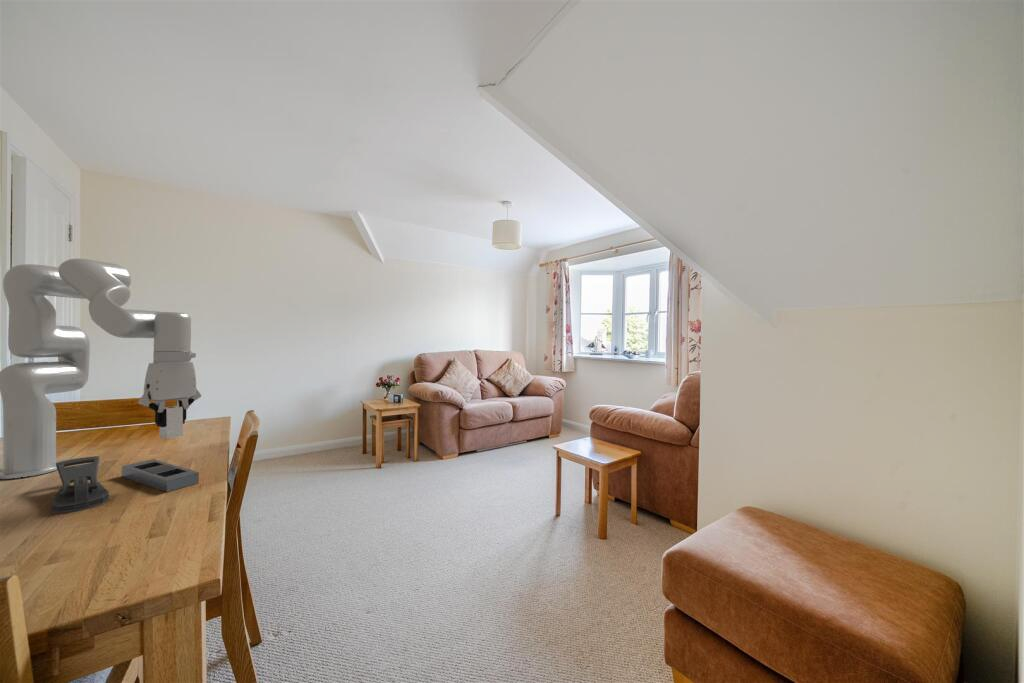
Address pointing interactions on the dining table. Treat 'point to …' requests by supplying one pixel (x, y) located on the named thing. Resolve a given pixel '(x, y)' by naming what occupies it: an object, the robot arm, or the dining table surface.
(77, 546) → the dining table surface
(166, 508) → the dining table surface
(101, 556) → the dining table surface
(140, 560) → the dining table surface
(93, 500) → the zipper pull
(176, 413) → the grey tall square block
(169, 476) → the rail
